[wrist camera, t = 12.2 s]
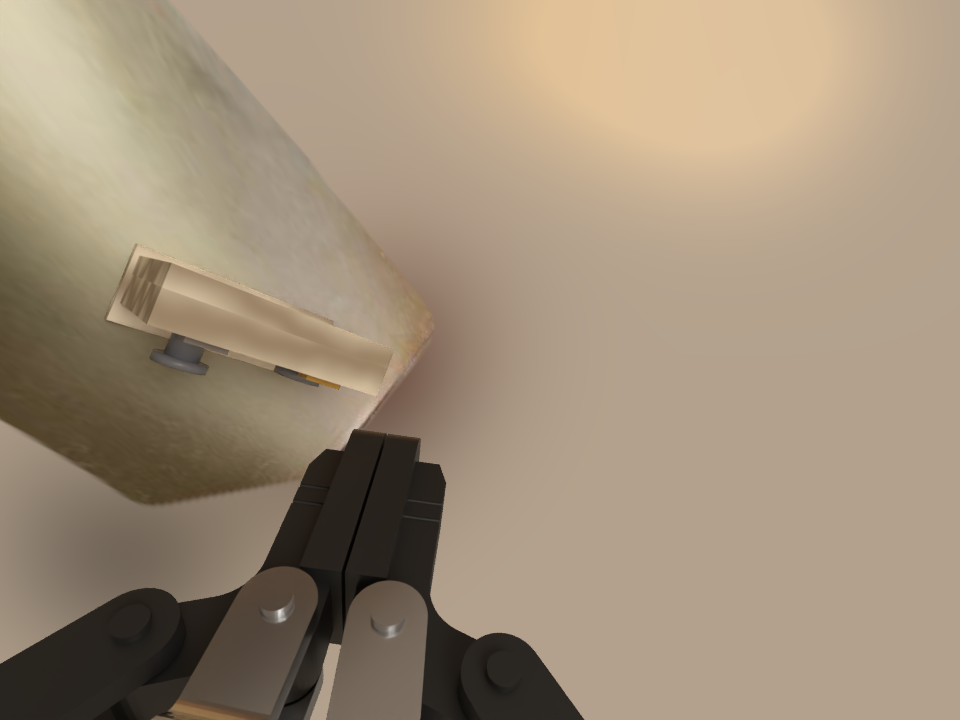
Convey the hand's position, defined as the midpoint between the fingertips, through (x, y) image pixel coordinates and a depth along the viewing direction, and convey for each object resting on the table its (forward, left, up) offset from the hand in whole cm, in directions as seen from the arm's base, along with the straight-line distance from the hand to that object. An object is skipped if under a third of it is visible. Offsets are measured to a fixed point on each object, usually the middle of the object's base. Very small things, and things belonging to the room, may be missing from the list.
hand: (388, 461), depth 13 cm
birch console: (+10, -5, -55) cm, 57 cm away
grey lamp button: (+4, -5, -48) cm, 48 cm away
